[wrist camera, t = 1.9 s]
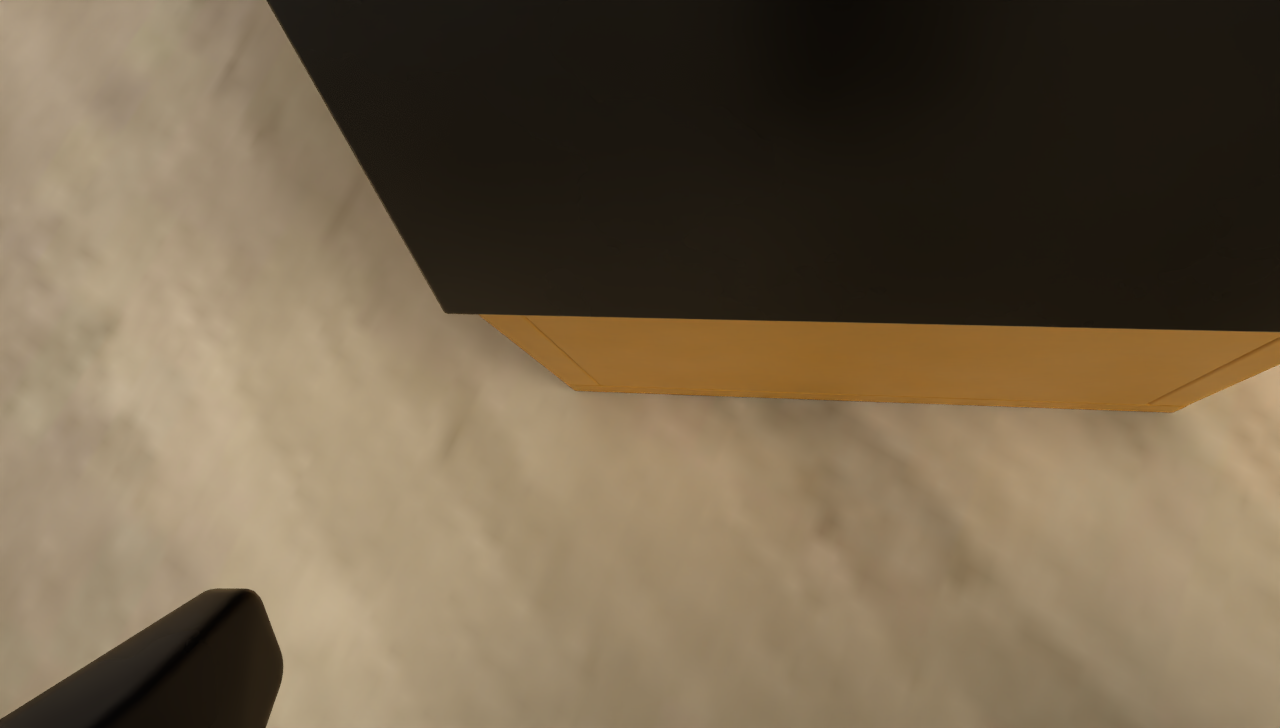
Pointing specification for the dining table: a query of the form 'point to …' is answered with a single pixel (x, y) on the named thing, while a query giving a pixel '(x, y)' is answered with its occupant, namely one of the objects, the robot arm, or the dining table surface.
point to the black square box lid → (821, 156)
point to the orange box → (894, 361)
